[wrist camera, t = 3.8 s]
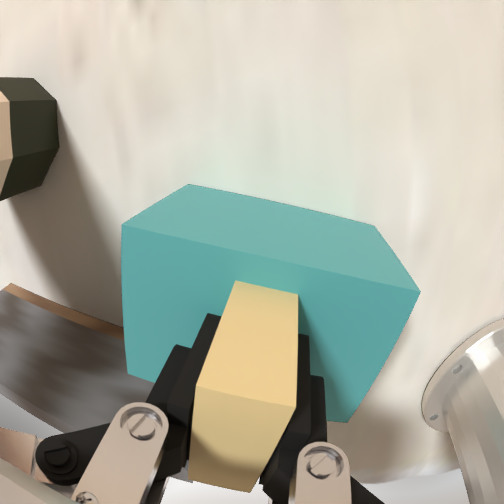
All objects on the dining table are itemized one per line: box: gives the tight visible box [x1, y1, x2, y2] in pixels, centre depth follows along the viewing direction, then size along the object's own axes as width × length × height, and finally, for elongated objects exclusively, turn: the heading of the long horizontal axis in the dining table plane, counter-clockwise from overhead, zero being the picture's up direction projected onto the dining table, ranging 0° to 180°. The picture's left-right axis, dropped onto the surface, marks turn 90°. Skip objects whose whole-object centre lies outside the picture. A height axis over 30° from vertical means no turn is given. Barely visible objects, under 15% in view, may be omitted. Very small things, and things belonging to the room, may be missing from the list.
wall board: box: [0, 283, 193, 483], centre depth 19 cm, size 20×12×9 cm, turn 79°
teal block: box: [121, 184, 421, 493], centre depth 12 cm, size 10×7×12 cm
